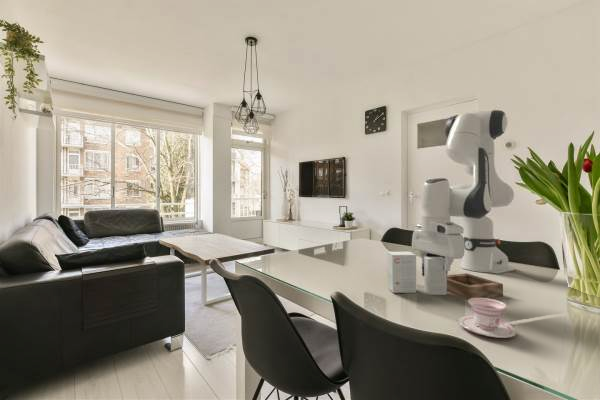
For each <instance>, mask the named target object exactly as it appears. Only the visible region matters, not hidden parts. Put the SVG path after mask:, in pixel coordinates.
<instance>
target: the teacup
mask: <svg viewBox="0 0 600 400" xmlns="http://www.w3.org/2000/svg"><path fill="white" fill-rule="evenodd" d="M467 302H468V304H469V305H470V307H471V309H472V311H473V313H474V314H472V315H471V314H470V315H464V316H462V317H460V318H458V323H459V325H460V326H461V327H462V328H464V329H465V330H468V331H470V332H473V333H475V334H478V335H482V336H485V337H492V338H497V339H499V338H500V339H507V338H512V337H514V336H517V335H516V334H517V330H516V329H515V327H513V326H512V325H510V324H509V323H507V322H504V321H503V320H500V319H501V316H502V315H503V312H505V311H506V309H507V305H506V303H504V302H502V301H500V300H497V299H493V298H471V299H469V300H467ZM476 324H477V326H476Z"/></svg>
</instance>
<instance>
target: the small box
mask: <svg viewBox="0 0 600 400" xmlns="http://www.w3.org/2000/svg"><path fill="white" fill-rule="evenodd" d="M387 288H388V289H389V290H390V291H391V292H392V293H393V294H394V293H395V294H396V293H397V294H399V293H401V294H402V293H403V294H404V293H405V294H406V293H407V294H414V293H415V294H416V293H417V254H415V253H414V252H411V251H387Z"/></svg>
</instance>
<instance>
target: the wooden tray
mask: <svg viewBox="0 0 600 400" xmlns="http://www.w3.org/2000/svg"><path fill="white" fill-rule="evenodd" d="M447 292H448V293H449V294H453V295H455V296H456V297H457V296H458V297H460V298H462V299H465V300H467V301H468V300H469V299H471V298H488V299H493V298H498V297H503V296H504V284H503V283H502V282H498V281H495V280H491V279H487V278H484V277H481V276H477V275H473V274H471V273H467V272H466V273H457V274H447Z"/></svg>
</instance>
